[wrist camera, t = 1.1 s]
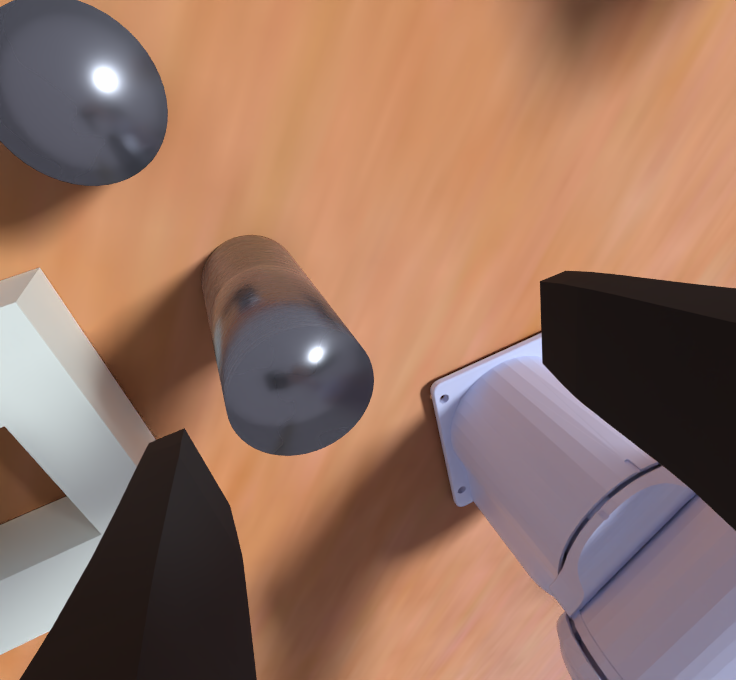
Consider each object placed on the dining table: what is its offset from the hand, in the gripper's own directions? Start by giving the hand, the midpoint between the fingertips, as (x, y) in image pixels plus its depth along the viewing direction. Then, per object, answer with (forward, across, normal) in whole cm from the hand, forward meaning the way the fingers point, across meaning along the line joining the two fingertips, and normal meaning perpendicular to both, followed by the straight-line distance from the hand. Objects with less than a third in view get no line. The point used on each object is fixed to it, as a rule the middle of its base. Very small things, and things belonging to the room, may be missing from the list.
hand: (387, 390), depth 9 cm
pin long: (+10, +1, +1) cm, 11 cm away
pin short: (+10, +4, -6) cm, 12 cm away
